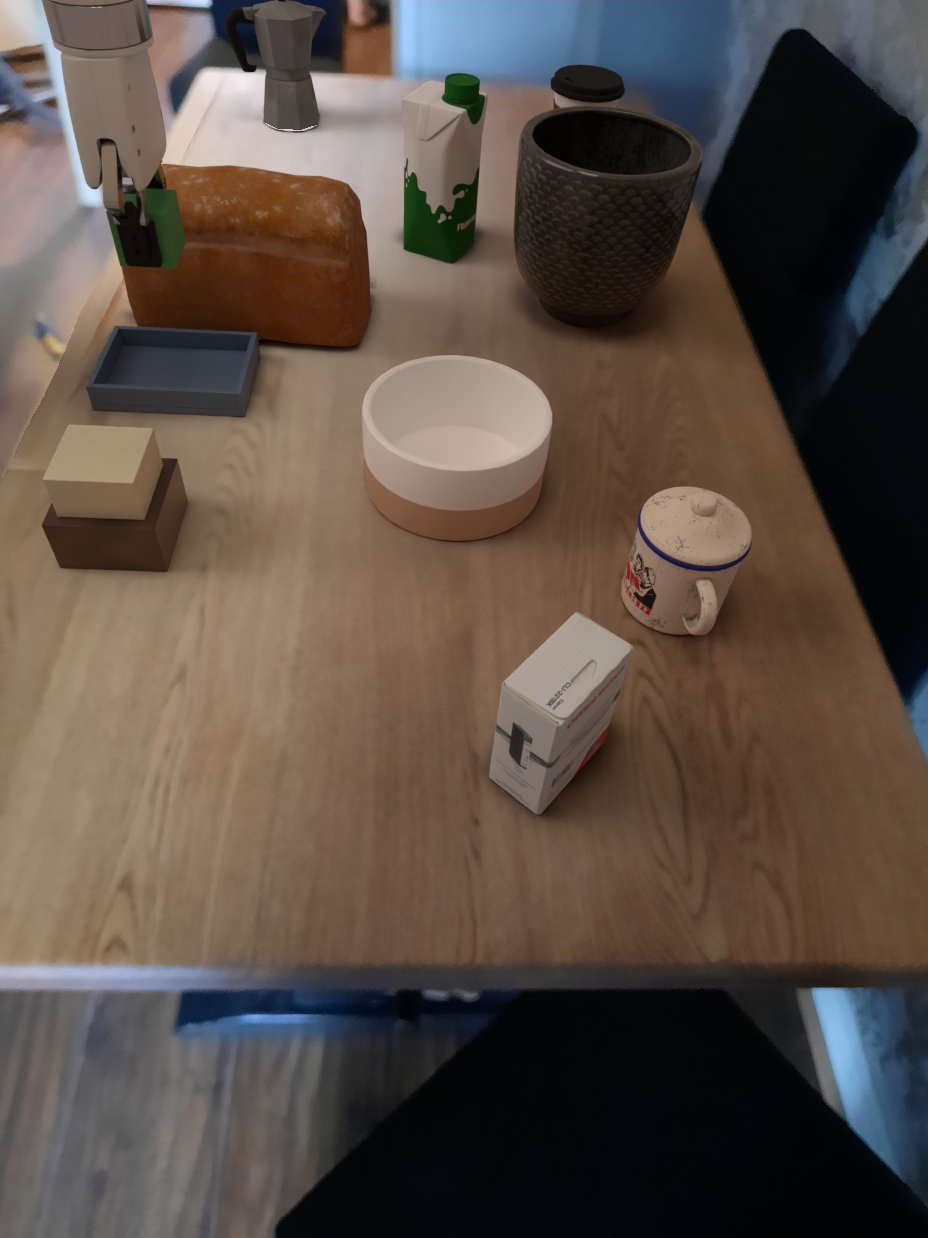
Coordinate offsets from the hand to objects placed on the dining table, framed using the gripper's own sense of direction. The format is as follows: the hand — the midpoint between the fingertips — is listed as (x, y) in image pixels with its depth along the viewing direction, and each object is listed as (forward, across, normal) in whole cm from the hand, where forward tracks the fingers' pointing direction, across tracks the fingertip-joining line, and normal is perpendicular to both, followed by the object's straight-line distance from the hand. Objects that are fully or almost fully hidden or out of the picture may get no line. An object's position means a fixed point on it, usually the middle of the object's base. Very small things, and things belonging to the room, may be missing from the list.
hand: (151, 247), depth 80 cm
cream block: (+9, +23, 0) cm, 25 cm away
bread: (+15, -14, +6) cm, 21 cm away
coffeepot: (+15, -71, +2) cm, 73 cm away
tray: (+15, 0, 0) cm, 15 cm away
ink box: (+15, +45, +36) cm, 59 cm away
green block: (+1, 0, 0) cm, 1 cm away
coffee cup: (+15, -62, +48) cm, 80 cm away
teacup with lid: (+15, +30, +48) cm, 58 cm away
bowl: (+15, +14, +29) cm, 35 cm away
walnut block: (+15, +23, 0) cm, 27 cm away
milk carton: (+15, -33, +27) cm, 45 cm away
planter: (+15, -20, +45) cm, 51 cm away
